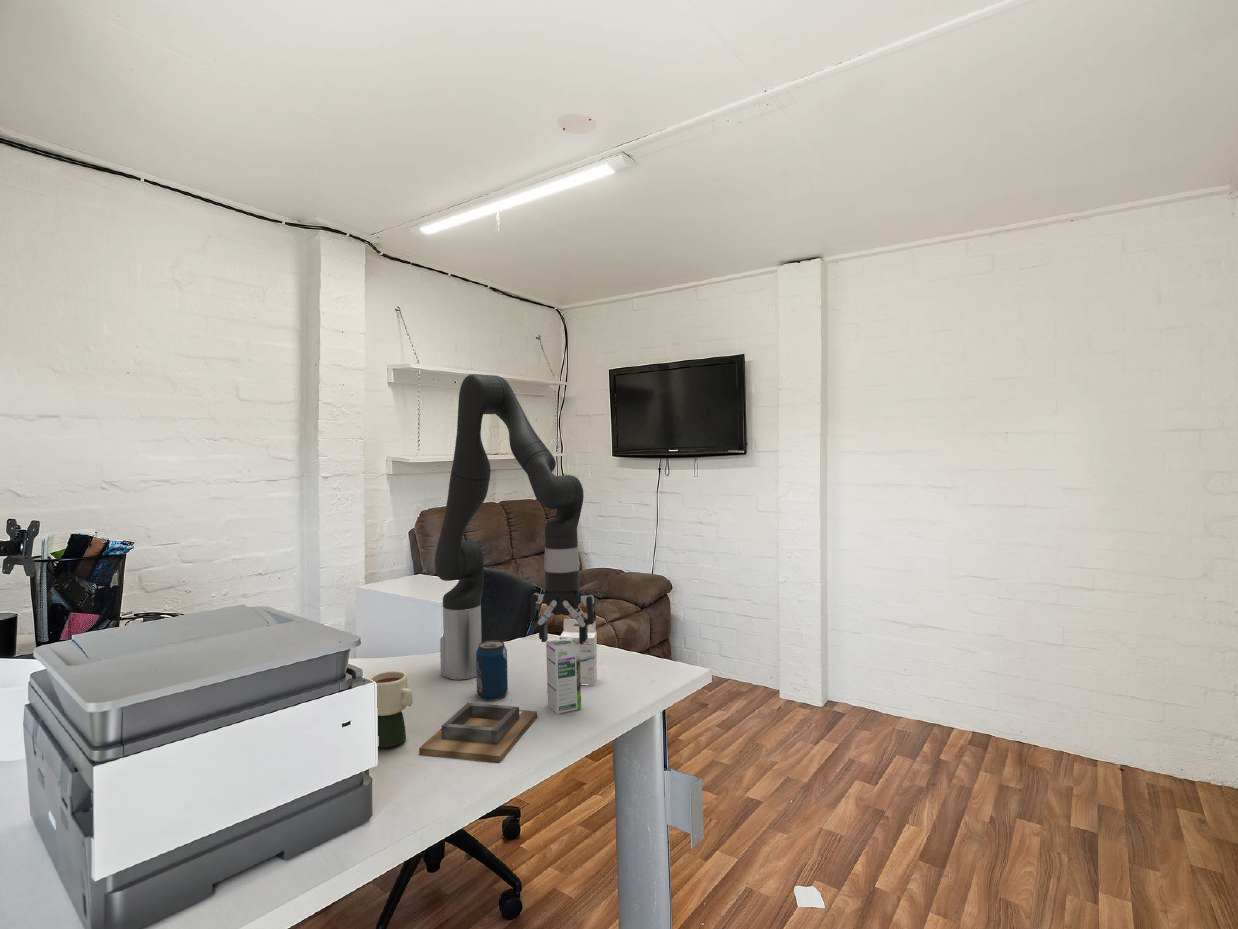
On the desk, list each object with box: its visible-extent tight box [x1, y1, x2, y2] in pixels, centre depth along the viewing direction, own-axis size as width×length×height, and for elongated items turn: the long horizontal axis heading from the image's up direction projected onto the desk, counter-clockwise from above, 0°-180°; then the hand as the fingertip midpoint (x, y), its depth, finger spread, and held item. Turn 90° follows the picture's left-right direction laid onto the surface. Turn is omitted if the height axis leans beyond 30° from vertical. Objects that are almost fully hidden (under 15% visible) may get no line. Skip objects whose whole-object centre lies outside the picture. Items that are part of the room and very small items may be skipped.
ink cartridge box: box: [559, 618, 598, 686], centre depth 157 cm, size 9×5×15 cm, turn 84°
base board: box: [418, 702, 538, 763], centre depth 129 cm, size 16×20×4 cm
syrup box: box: [545, 638, 582, 715], centre depth 142 cm, size 6×6×14 cm
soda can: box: [476, 639, 509, 702], centre depth 149 cm, size 7×7×12 cm
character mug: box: [368, 670, 413, 748], centre depth 126 cm, size 11×7×13 cm, turn 70°
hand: (563, 642), depth 142 cm, fingers open, 8 cm apart
